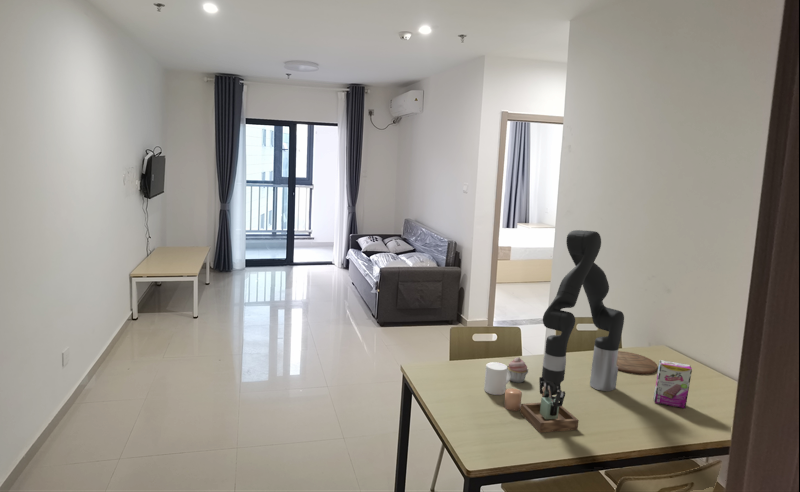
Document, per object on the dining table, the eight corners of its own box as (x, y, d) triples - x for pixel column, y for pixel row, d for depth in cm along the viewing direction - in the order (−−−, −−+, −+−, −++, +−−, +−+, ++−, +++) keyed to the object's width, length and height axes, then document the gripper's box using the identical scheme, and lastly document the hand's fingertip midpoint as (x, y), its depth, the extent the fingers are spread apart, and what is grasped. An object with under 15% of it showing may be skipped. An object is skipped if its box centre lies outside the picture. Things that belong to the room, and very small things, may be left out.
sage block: (551, 412, 195) (553, 396, 194) (557, 418, 191) (559, 402, 190) (539, 413, 194) (541, 397, 193) (545, 419, 190) (547, 403, 189)
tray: (555, 410, 201) (556, 401, 201) (577, 429, 188) (578, 420, 187) (520, 412, 198) (521, 403, 197) (539, 432, 184) (540, 423, 183)
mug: (481, 364, 215) (502, 358, 222) (479, 389, 216) (500, 382, 224) (497, 371, 208) (518, 365, 215) (495, 397, 210) (516, 390, 217)
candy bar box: (654, 403, 212) (660, 363, 209) (653, 398, 217) (658, 359, 214) (686, 409, 209) (692, 368, 206) (684, 404, 213) (690, 364, 210)
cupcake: (523, 386, 221) (525, 363, 219) (501, 380, 226) (503, 357, 224) (530, 379, 229) (533, 356, 227) (509, 373, 234) (511, 351, 232)
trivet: (666, 376, 241) (667, 372, 241) (610, 373, 241) (610, 369, 241) (642, 356, 266) (643, 352, 266) (591, 353, 266) (592, 349, 266)
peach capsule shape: (516, 403, 206) (518, 388, 205) (523, 410, 200) (524, 395, 199) (501, 403, 205) (502, 388, 204) (507, 411, 199) (508, 395, 198)
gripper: (575, 373, 183) (569, 420, 186) (553, 357, 197) (548, 401, 200) (555, 374, 182) (549, 422, 184) (534, 358, 195) (529, 403, 198)
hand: (549, 411), depth 192 cm, fingers open, 5 cm apart
